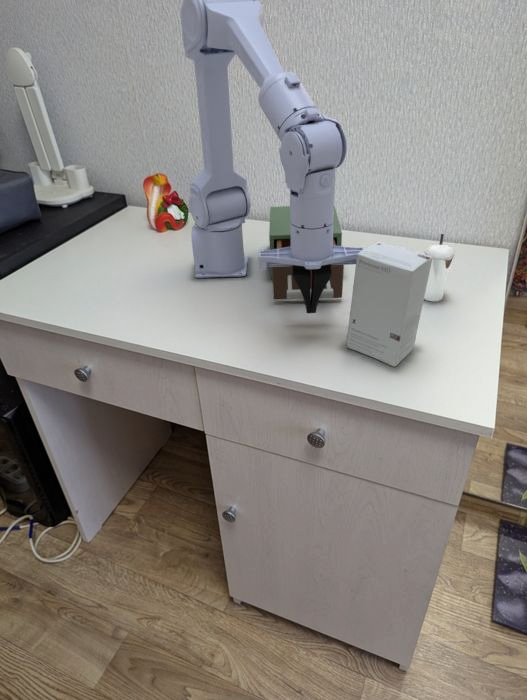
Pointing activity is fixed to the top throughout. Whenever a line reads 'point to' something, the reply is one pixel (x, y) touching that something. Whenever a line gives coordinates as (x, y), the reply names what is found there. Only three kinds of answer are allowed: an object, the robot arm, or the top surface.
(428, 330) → the top surface
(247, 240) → the top surface
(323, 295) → the drawer
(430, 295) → the milkshake
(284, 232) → the cabinet
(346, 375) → the top surface
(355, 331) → the cosmetic box
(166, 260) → the top surface
